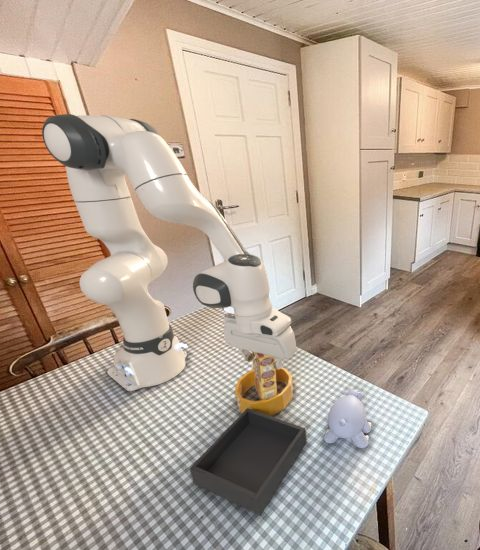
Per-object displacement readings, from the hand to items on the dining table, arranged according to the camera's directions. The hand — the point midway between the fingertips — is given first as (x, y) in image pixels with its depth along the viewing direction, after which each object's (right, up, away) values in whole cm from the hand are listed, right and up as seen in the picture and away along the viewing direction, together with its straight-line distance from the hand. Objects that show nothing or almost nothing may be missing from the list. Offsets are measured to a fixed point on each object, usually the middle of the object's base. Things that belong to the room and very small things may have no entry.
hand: (263, 363), depth 80 cm
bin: (+3, -18, -14) cm, 23 cm away
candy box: (-1, -10, +4) cm, 11 cm away
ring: (-1, -11, +4) cm, 11 cm away
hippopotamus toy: (+23, -15, -5) cm, 28 cm away
